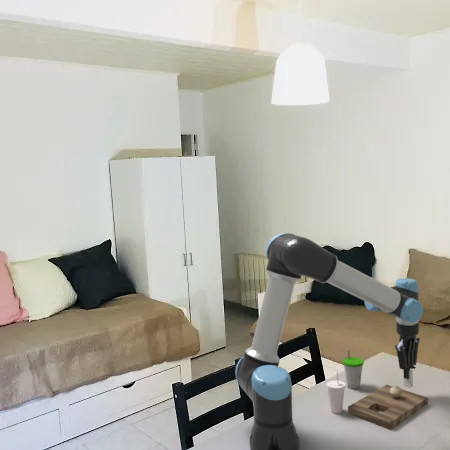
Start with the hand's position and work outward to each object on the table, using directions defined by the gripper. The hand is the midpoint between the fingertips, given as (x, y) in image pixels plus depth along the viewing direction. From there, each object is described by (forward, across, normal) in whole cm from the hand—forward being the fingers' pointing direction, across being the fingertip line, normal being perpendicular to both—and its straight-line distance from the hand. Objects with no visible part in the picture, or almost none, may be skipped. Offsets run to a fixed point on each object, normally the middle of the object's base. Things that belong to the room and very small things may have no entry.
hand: (408, 386), depth 186 cm
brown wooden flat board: (+4, -13, 0) cm, 14 cm away
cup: (+4, -6, +19) cm, 20 cm away
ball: (-1, -8, 0) cm, 8 cm away
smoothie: (+4, -26, +12) cm, 29 cm away
